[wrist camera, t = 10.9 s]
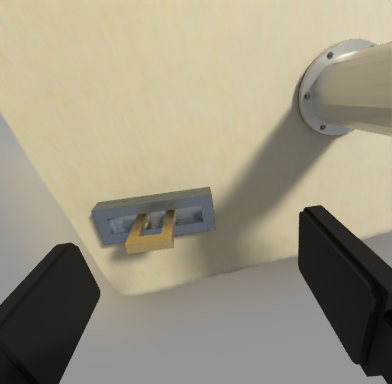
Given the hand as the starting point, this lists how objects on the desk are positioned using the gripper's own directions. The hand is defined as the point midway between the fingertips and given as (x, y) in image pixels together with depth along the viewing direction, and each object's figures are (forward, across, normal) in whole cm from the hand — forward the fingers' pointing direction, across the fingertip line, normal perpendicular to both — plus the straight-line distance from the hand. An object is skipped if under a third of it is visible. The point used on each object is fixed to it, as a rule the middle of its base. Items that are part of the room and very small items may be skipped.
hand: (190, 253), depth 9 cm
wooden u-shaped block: (+26, +9, +12) cm, 30 cm away
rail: (+27, +9, +12) cm, 31 cm away
